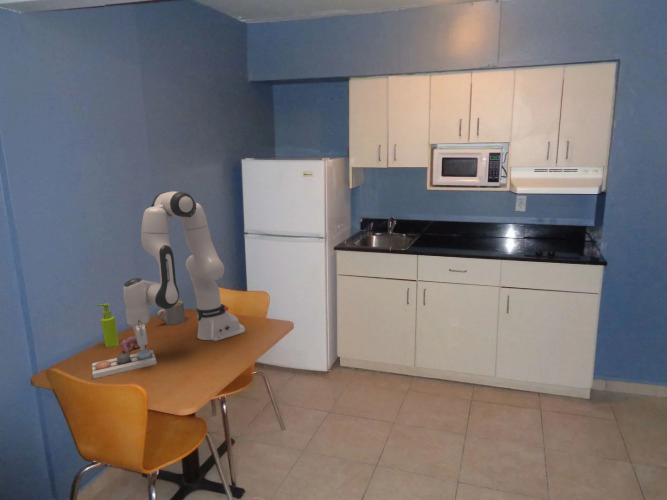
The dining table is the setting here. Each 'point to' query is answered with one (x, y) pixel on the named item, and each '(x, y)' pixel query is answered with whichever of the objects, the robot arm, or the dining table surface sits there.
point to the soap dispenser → (109, 327)
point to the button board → (124, 367)
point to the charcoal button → (123, 359)
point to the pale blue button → (144, 354)
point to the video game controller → (128, 341)
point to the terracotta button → (102, 365)
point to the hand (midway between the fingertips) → (142, 348)
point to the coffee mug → (173, 314)
